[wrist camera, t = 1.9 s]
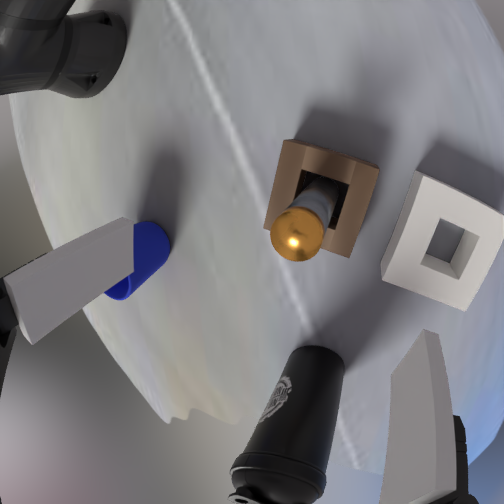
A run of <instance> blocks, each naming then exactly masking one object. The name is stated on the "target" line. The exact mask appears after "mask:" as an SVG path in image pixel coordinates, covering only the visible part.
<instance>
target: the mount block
mask: <svg viewBox="0 0 504 504" xmlns="http://www.w3.org/2000/svg"><path fill="white" fill-rule="evenodd" d="M307 171H309V172H313V173H316V174H319V175H322V176H325V177H328V178H332V179H335V180H338V181H341V182H344V183H347V184H349V186H348V189H347V193H346V196H345V199H344V202H343V205H342V209H341V212H340V215H339V218H336V217H333V216H331V219H330V222H329V225H328V228H327V231H326V233H325V236H324V239H323V242H322V244H321V247H320V248H322V249H325V250H328V251H330V252H333V253H336V254H339V255H342V256H344V257H347V258H349V257H350V255H351V252H352V250H353V247H354V244H355V242H356V239H357V236H358V233H359V231H360V228H361V225H362V222H363V220H364V217H365V214H366V211H367V208H368V205H369V202H370V199H371V196H372V193H373V190H374V187H375V184H376V180H377V177H378V174H379V171H380V169H379V168H378V166H377V165H375V164H372V163H370V162H367V161H364V160H361V159H358V158H355V157H352V156H349V155H346V154H343V153H340V152H336V151H333V150H330V149H327V148H323V147H320V146H316V145H313V144H309V143H306V142H302V141H298V140H295V139H289V140H284V141H283V145H282V149H281V154H280V158H279V162H278V167H277V171H276V175H275V180H274V184H273V188H272V193H271V197H270V201H269V206H268V210H267V214H266V218H265V223H264V227H263V228H264V229H267V230H270V231H271V227H272V224H273V222H274V221H275V220H276V218H277V217H278V216H279V215H280V214H281V213H282V212H283V211H284V210H285V209H286V208H287V207H288V206H289V205H290V204H291V203H292V202H293V201H294V200H295V199H296V198H297V197H298V196H299V195H300V194H301V192H302V188H303V184H304V180H305V176H306V173H307Z"/></svg>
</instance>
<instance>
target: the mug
mask: <svg viewBox="0 0 504 504" xmlns="http://www.w3.org/2000/svg"><path fill="white" fill-rule="evenodd" d="M169 253H170V243H169V240H168V237H167V235H166V233H165V232H164V231H163V229H162V228H161V227H160V226H158V225H157V224H155V223H152V222H140V223H137V224H134V225H133V262H134V272H133V273H131V274H130V275H128V276H127V277H125V278H124V279H122V280H121V281H119V282H118V283H117V284H115V285H114V286H112V287H111V288H109V289H108V290H107V291H105V292H104V293H105V294H106V295H107V296H109V297H111V298H113V299H115V300H124V299H126V298H128V297H129V296H130V295H131V294H132V293H133V292H134V291H135V290H136V289H137V288H138V287H139V286H141V285H142V284H143V283H144V282H145V281H146V280H147V279H148V278H149V277H150V276H151V275H152V274H154V273H155V272H156V271H157V270H158V269H159V268H160V267H161V266H162V265H163V264H164V263H165V262H166V260H167V259H168V257H169Z"/></svg>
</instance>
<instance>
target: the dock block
mask: <svg viewBox="0 0 504 504" xmlns="http://www.w3.org/2000/svg"><path fill="white" fill-rule="evenodd" d="M440 218H442V219H444V220H446V221H448V222H451V223H453V224H455V225H457V226H459V227H461V228H463V229H465V231H464V233H463V235H462V238H461V240H460V242H459V244H458V247H457V249H456V251H455V253H454V255H453V257H452V260H451V262H450V263H447V262H445V261H443V260H440V259H438V258H436V257H433V256H431V255H428V254H426V253H425V252H426V250H427V248H428V246H429V243H430V241H431V239H432V237H433V234H434V232H435V229H436V227H437V224H438V222H439V219H440ZM503 239H504V215H503V214H502V213H500V212H499V211H498V210H496V209H494V208H493V207H491V206H489V205H487V204H485V203H484V202H482V201H480V200H478V199H476V198H474V197H472V196H470V195H468V194H466V193H464V192H462V191H460V190H458V189H456V188H454V187H452V186H450V185H448V184H446V183H444V182H442V181H439V180H437V179H435V178H433V177H431V176H428V175H426V174H424V173H421V172H419V171H417V170H415V172H414V175H413V178H412V181H411V184H410V187H409V190H408V193H407V196H406V199H405V202H404V205H403V207H402V210H401V213H400V216H399V218H398V221H397V224H396V226H395V229H394V231H393V234H392V236H391V239H390V241H389V244H388V246H387V249H386V251H385V253H384V256H383V258H382V260H381V263H380V265H381V275H382V280H383V281H386V282H388V283H391V284H394V285H396V286H399V287H402V288H405V289H407V290H410V291H413V292H415V293H418V294H421V295H423V296H426V297H429V298H431V299H434V300H436V301H439V302H442V303H444V304H447V305H450V306H452V307H455V308H457V309H460V310H463V311H465V312H466V310H467V308H468V307H469V305H470V303H471V302H472V300H473V298H474V297H475V295H476V293H477V291H478V290H479V288H480V286H481V284H482V282H483V280H484V279H485V277H486V275H487V273H488V271H489V269H490V267H491V265H492V263H493V261H494V259H495V257H496V255H497V252H498V250H499V248H500V246H501V244H502V241H503Z"/></svg>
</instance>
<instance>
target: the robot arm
mask: <svg viewBox="0 0 504 504" xmlns="http://www.w3.org/2000/svg"><path fill="white" fill-rule="evenodd" d="M75 1H76V0H0V95H5V94H11V93H17V92H25V91H33V90H43V89H48V90H51V91H54V92H57V93H60V94H63V95H66V96H69V97H72V98H89V97H93V96H95V95H97V94H98V93H100V92H101V91H102V90H103V89H104V88H105V87H106V86H107V85H108V84H109V82H110V81H111V80H112V78H113V77H114V75H115V73H116V71H117V69H118V67H119V65H120V63H121V60H122V57H123V54H124V50H125V45H126V28H125V24H124V22H123V20H122V18H121V17H120V16H119V15H118V14H116V13H112V12H108V11H104V10H97V11H90V12H84V13H78V14H73V15H66V14H67V13H68V11H69V9H70V8H71V7H72V5H73V4H74V2H75ZM133 224H134V222H133V221H131V220H128V219H125V218H123V217H122V218H119V219H117V220H115V221H113V222H110V223H108V224H106V225H104V226H102V227H99V228H97V229H95V230H93V231H91V232H89V233H87V234H85V235H83V236H81V237H79V238H76V239H74V240H72V241H70V242H68V243H66V244H64V245H62V246H61V247H59V248H57V249H55V250H53V251H51V252H49V253H45V254H43V255H41V256H40V257H38V258H36V259H35V260H32V261H30V262H28V264H25V265H23V266H22V267H20V268H18V269H16V270H14V271H12V272H11V273H9V274H7V275H5V276H4V277H2V278H0V396H1V391H2V386H3V382H4V377H5V373H6V369H7V365H8V361H9V357H10V354H11V350H12V346H13V343H14V340H15V336H16V331H17V330H16V327H15V326H17V325H18V324H19V326H20V328H21V330H22V333H23V335H24V336H25V337H26V338H27V340H28V341H29V342H30V343H31V344H32V345H33V344H35V343H36V342H37V341H38V340H40V339H41V338H42V337H44V336H45V335H46V334H48V333H49V332H50V331H51V330H53V329H54V328H55V327H57V326H58V325H59V324H61V323H62V322H63V321H65V320H66V319H67V318H69V317H70V316H72V315H73V314H74V313H76V312H77V311H78V310H80V309H81V308H83V307H84V306H85V305H87V304H88V303H90V302H91V301H92V300H94V299H95V298H97V297H98V296H99V295H101V294H102V293H104V292H105V291H107V290H108V289H109V288H111V287H112V286H114V285H115V284H117V283H118V282H119V281H121V280H122V279H124V278H125V277H127V276H128V275H130V274H131V273H133V272H134V262H133ZM465 442H466V434H465V428H464V425H463V423H462V421H461V418H460V416H456V415H453V412H452V404H451V397H450V390H449V384H448V378H447V372H446V367H445V362H444V357H443V353H442V348H441V344H440V339H439V335H438V334H436V333H433V332H430V331H427V330H425V329H423V330H422V332H421V333H420V335H419V336H418V338H417V339H416V341H415V342H414V344H413V345H412V347H411V348H410V350H409V351H408V353H407V354H406V355H405V357H404V358H403V359H402V361H401V362H400V364H399V365H398V366H397V368H396V369H395V370H394V372H393V373H392V374H391V400H390V420H389V433H388V444H387V454H386V462H385V469H384V477H383V483H382V489H381V495H380V500H379V504H479V503H478V501H477V500H476V498H475V497H474V496H472V495H471V494H468V460H467V454H466V452H467V445H466V444H465ZM0 504H2V503H1V498H0Z"/></svg>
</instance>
